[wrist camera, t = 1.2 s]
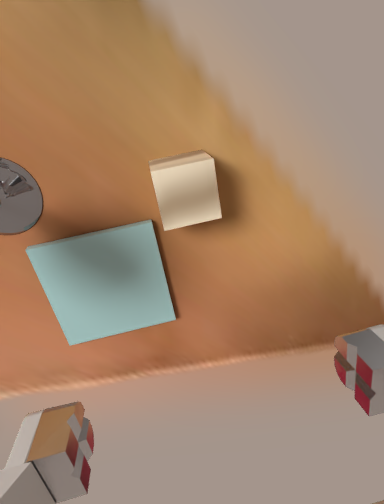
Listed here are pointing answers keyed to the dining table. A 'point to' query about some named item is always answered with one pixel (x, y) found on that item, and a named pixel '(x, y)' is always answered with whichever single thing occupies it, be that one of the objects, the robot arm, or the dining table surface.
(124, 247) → the pad
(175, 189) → the cube
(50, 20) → the dining table surface
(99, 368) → the dining table surface
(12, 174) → the wine glass
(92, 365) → the dining table surface
